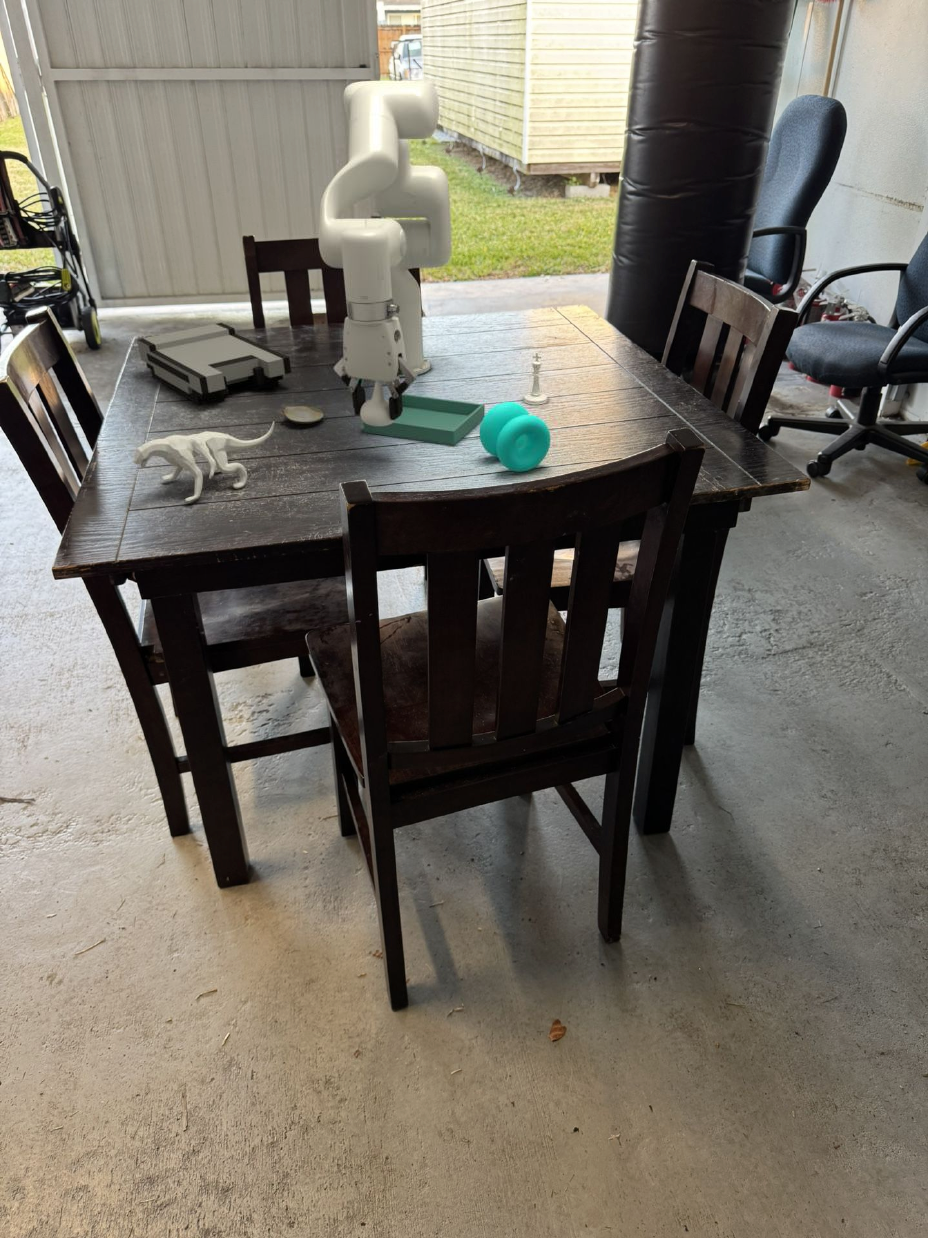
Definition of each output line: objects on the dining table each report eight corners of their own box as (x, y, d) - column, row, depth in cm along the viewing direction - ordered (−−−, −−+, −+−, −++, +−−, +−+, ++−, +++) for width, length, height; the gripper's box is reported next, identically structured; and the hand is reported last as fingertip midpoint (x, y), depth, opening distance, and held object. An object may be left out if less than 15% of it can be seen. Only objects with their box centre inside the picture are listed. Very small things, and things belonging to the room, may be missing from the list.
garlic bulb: (361, 417, 152) (357, 372, 147) (395, 415, 152) (392, 371, 148) (361, 430, 146) (357, 384, 142) (397, 427, 147) (394, 382, 142)
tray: (363, 431, 163) (362, 418, 162) (399, 406, 175) (398, 393, 173) (454, 445, 157) (453, 431, 155) (484, 417, 169) (484, 404, 167)
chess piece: (545, 405, 174) (547, 356, 168) (522, 403, 175) (523, 355, 169) (548, 397, 178) (550, 349, 172) (525, 395, 179) (526, 348, 173)
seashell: (313, 438, 166) (330, 415, 171) (312, 425, 164) (329, 402, 169) (275, 427, 167) (293, 405, 172) (273, 414, 165) (291, 392, 170)
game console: (205, 411, 174) (197, 372, 170) (145, 375, 195) (136, 339, 190) (293, 388, 185) (288, 351, 180) (227, 356, 206) (221, 322, 201)
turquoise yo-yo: (500, 479, 144) (501, 423, 139) (476, 457, 152) (476, 404, 146) (552, 468, 148) (554, 413, 142) (526, 448, 155) (527, 395, 150)
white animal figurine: (131, 490, 143) (116, 434, 138) (266, 454, 155) (257, 401, 150) (155, 516, 135) (141, 457, 129) (296, 475, 147) (288, 420, 142)
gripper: (427, 308, 138) (431, 414, 148) (336, 300, 144) (346, 402, 154) (407, 320, 133) (413, 428, 143) (312, 310, 138) (324, 416, 149)
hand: (378, 414), depth 148 cm, fingers closed on garlic bulb, 6 cm apart
